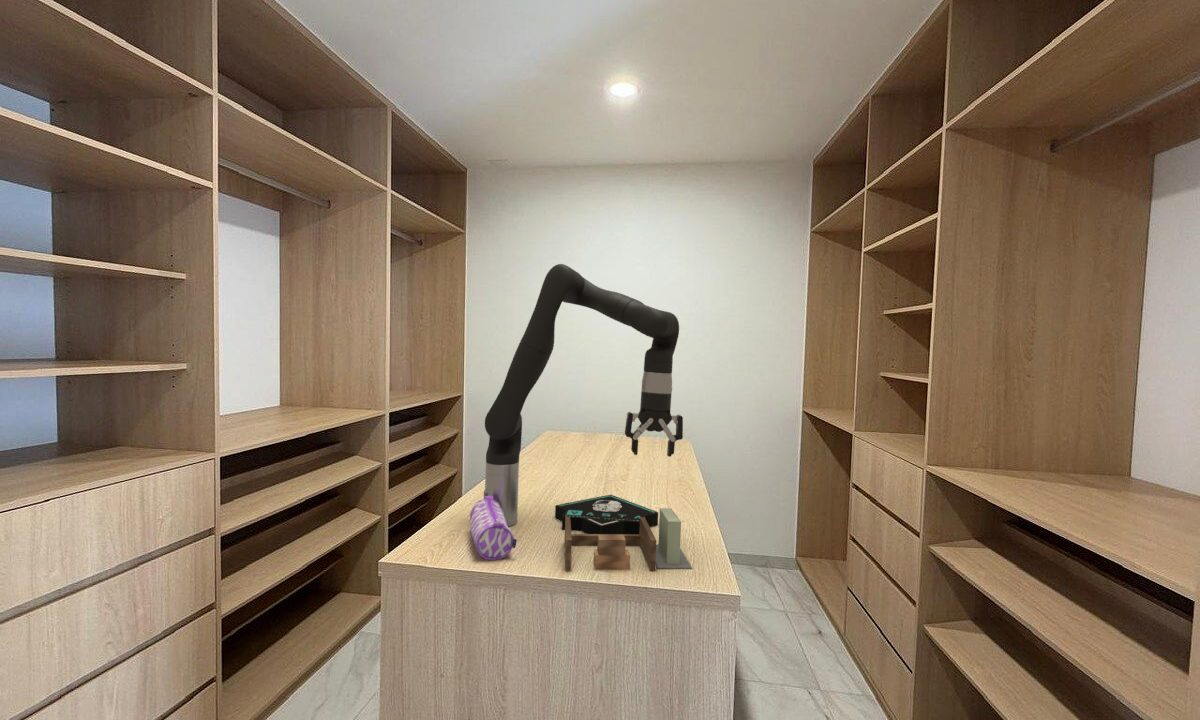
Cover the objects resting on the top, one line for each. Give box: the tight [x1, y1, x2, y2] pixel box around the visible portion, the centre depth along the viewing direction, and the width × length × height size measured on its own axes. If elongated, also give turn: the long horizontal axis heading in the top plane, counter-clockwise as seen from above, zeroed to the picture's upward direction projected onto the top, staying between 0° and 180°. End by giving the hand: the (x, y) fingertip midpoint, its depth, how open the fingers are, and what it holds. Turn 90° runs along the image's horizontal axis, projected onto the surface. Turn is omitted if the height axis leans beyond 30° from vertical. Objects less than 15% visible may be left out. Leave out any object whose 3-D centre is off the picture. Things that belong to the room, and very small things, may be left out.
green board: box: [657, 507, 682, 564], centre depth 126 cm, size 10×3×10 cm, turn 5°
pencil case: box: [469, 496, 518, 561], centre depth 130 cm, size 22×9×10 cm, turn 21°
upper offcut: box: [597, 534, 626, 555], centre depth 120 cm, size 6×4×4 cm, turn 96°
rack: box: [563, 516, 657, 572], centre depth 125 cm, size 20×16×7 cm
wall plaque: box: [554, 494, 659, 534], centre depth 151 cm, size 30×4×30 cm
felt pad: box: [656, 544, 693, 570], centre depth 126 cm, size 8×14×1 cm, turn 5°
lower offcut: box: [593, 548, 631, 571], centre depth 120 cm, size 8×4×4 cm, turn 94°
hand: (652, 455), depth 130 cm, fingers open, 8 cm apart
